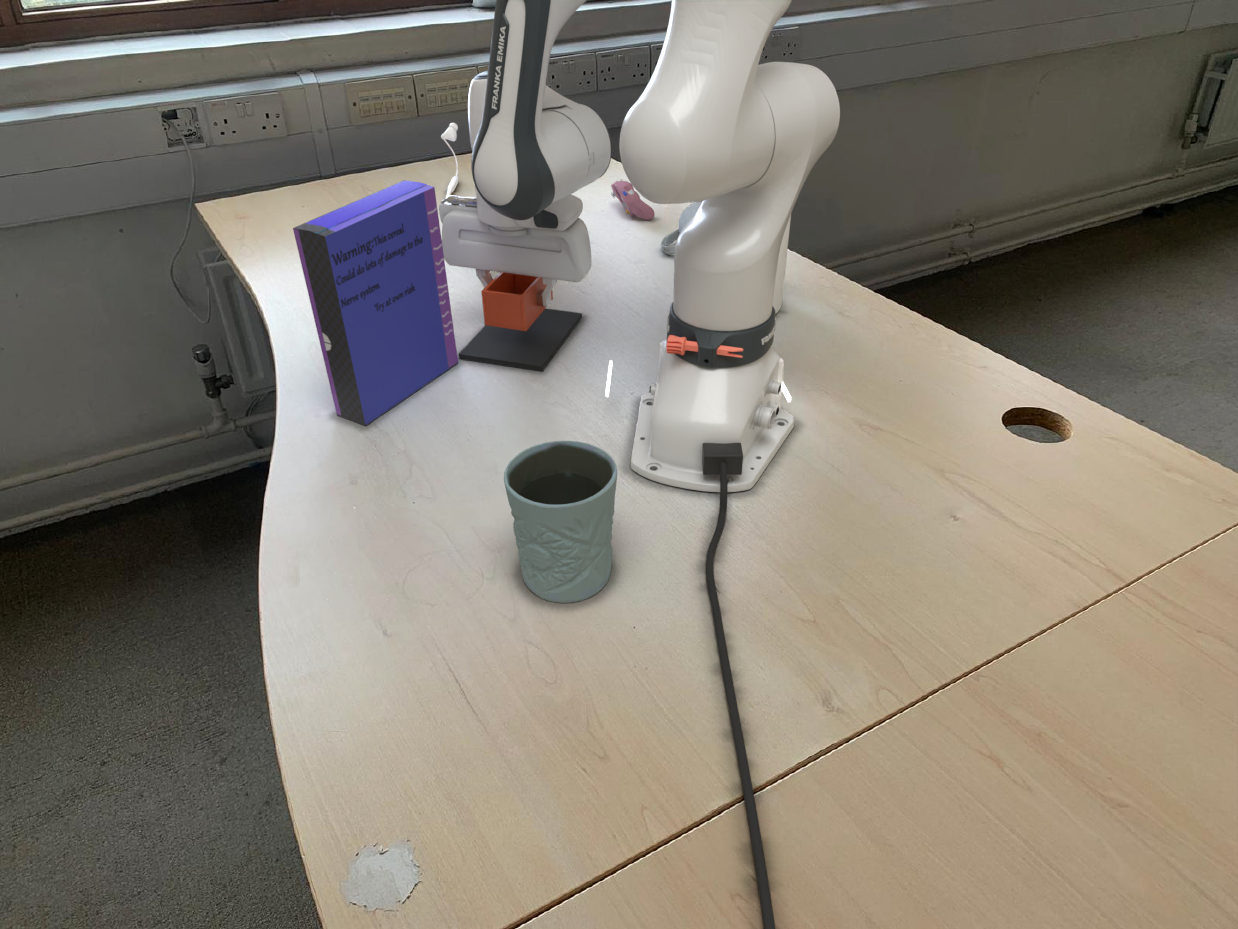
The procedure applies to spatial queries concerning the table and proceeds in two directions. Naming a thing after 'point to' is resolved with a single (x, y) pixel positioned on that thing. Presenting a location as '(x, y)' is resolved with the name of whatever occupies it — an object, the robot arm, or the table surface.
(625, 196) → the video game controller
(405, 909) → the table surface
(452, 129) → the earphone
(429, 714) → the table surface
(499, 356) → the mat
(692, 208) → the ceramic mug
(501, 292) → the top tub
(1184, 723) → the table surface
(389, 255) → the purple flat upright box
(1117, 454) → the table surface
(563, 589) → the green embossed cup
